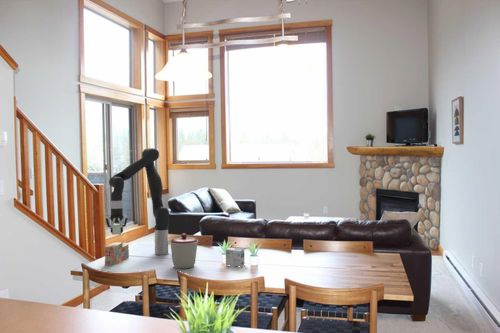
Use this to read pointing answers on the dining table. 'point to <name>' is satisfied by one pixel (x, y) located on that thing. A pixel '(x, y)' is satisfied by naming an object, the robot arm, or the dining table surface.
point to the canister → (183, 251)
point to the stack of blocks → (116, 253)
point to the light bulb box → (235, 257)
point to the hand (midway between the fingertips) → (116, 233)
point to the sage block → (116, 229)
